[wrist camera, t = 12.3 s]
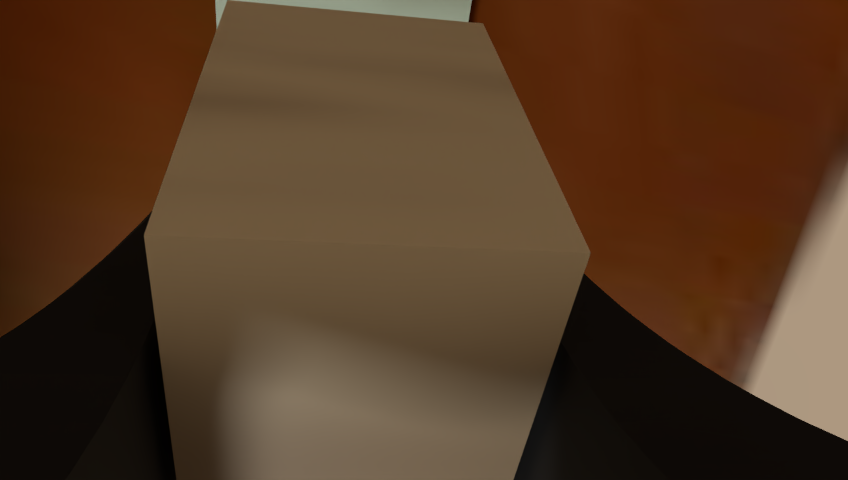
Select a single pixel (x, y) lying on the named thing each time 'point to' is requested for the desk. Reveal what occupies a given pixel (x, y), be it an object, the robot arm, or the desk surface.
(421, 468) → the block
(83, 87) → the desk surface
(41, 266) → the desk surface
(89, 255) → the desk surface
